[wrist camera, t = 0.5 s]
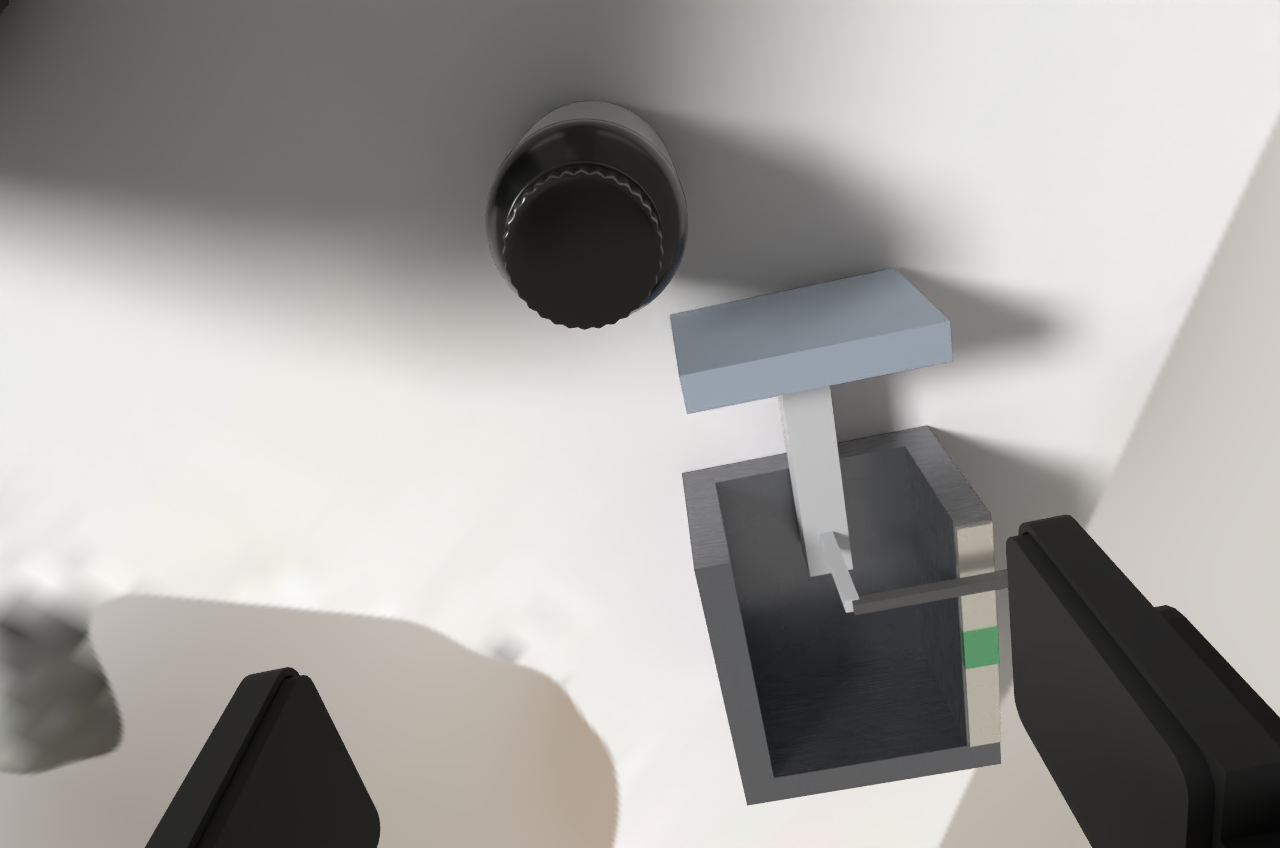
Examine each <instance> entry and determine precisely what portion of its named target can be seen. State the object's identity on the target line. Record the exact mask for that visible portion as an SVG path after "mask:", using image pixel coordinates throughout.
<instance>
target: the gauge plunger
mask: <svg viewBox="0 0 1280 848" xmlns="http://www.w3.org/2000/svg"><path fill="white" fill-rule="evenodd" d="M670 319H671V326H672V332H673V339H674V345H675V352H676V359H677V365H678V372H679V378H680V382H681V387H682V392H683V397H684V402H685V406H686V411H687V414H690V413H695V412H700V411H705V410H710V409H715V408H720V407H725V406H730V405H735V404H740V403H745V402H751V401H756V400H761V399H766V398H771V397H776V396H778V400H779V406H780V413H781V419H782V425H783V432H784V438H785V444H786V451H787V457H788V464H789V470H790V476H791V483H792V489H793V496H794V502H795V508H796V515H797V521H798V528H799V534H800V540H801V547H802V553H803V556H804V559H805V562H806V565H807V568H808V571H809V574H810V577H812V576H818V575H823V574H829V573H832V576H833V579H834V581H835V584H836V587H837V589H838V592H839V595H840V598H841V600H842V603H843V606H844V608H845V611H846V613H848V612H853V611H854V614H855V615H859V614H865V613H870V612H876V611H881V610H887V609H892V608H898V607H904V606H909V605H915V604H920V603H926V602H931V601H937V600H943V599H948V598H954V597H959V596H965V595H971V594H976V593H982V592H987V591H993V590H998V589H1004V588H1008V573H1007V570H1001V571H996V572H990V573H985V574H979V575H974V576H968V577H963V578H957V579H952V580H946V581H941V582H935V583H930V584H924V585H918V586H913V587H907V588H902V589H896V590H891V591H885V592H880V593H874V594H869V595H863V596H858V594H857V591H856V589H855V586H854V584H853V581H852V579H851V576H850V574H849V571H848V570H851V569H853V565H852V557H851V549H850V541H849V533H848V525H847V518H846V510H845V502H844V494H843V486H842V478H841V470H840V462H839V454H838V447H837V439H836V431H835V423H834V415H833V407H832V399H831V391H830V386H831V385H836V384H841V383H846V382H851V381H856V380H861V379H866V378H871V377H876V376H881V375H886V374H891V373H896V372H901V371H906V370H911V369H916V368H921V367H926V366H931V365H936V364H941V363H946V362H951V361H952V344H951V327H950V320H949V319H948V318H947V317H945V316H944V315H943V314H942V313H941V312H940V311H939V310H938V309H937V308H936V307H935V306H934V305H933V304H932V303H931V302H930V301H929V300H928V299H927V298H926V297H925V296H924V295H923V294H922V293H921V292H920V291H919V290H918V289H917V288H916V287H915V286H914V285H913V284H912V283H911V282H909V281H908V280H907V279H906V278H905V277H904V276H903V275H902V274H901V273H900V272H899V271H898V270H897V269H896V268H892V269H887V270H882V271H878V272H873V273H868V274H863V275H858V276H854V277H849V278H844V279H839V280H834V281H830V282H825V283H820V284H815V285H810V286H806V287H801V288H796V289H791V290H786V291H782V292H777V293H772V294H767V295H762V296H758V297H753V298H748V299H743V300H739V301H734V302H729V303H724V304H719V305H715V306H710V307H705V308H700V309H695V310H691V311H686V312H681V313H676V314H671V315H670Z"/></svg>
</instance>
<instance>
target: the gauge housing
mask: <svg viewBox="0 0 1280 848" xmlns="http://www.w3.org/2000/svg"><path fill="white" fill-rule="evenodd" d="M837 447H838V454H839V462H840V470H841V478H842V486H843V494H844V502H845V510H846V518H847V525H848V533H849V541H850V549H851V557H852V565H853V569H851V570H848V571H849V574H850V576H851V579H852V581H853V584H854V586H855V589H856V591H857V594H858V596H863V595H869V594H874V593H880V592H885V591H891V590H896V589H902V588H907V587H913V586H918V585H924V584H930V583H935V582H941V581H946V580H952V579H957V578H963V577H968V576H974V575H979V574H985V573H990V572H995V568H994V542H993V523H992V522H991V513H990V512H989V511H988V509H987V508H986V507H985V505H984V504H983V502H982V501H981V500H980V498H979V497H978V495H977V494H976V493H975V491H974V490H973V489H972V487H971V486H970V484H969V483H968V482H967V480H966V479H965V477H964V476H963V475H962V473H961V472H960V470H959V469H958V468H957V466H956V465H955V464H954V462H953V461H952V459H951V458H950V457H949V455H948V454H947V452H946V451H945V450H944V448H943V447H942V445H941V444H940V443H939V441H938V440H937V439H936V437H935V436H934V434H933V433H932V432H931V430H930V429H929V427H928V426H923V427H918V428H913V429H907V430H902V431H897V432H892V433H887V434H882V435H877V436H871V437H866V438H861V439H856V440H851V441H846V442H841V443H837ZM682 477H683V485H684V493H685V501H686V508H687V516H688V524H689V532H690V540H691V548H692V556H693V563H694V570H695V575H696V579H697V584H698V588H699V593H700V597H701V602H702V606H703V610H704V615H705V619H706V624H707V628H708V633H709V637H710V642H711V646H712V650H713V655H714V659H715V664H716V668H717V673H718V677H719V682H720V686H721V690H722V695H723V699H724V704H725V708H726V713H727V717H728V722H729V726H730V730H731V735H732V739H733V744H734V748H735V753H736V757H737V762H738V766H739V770H740V775H741V779H742V784H743V788H744V793H745V797H746V802H747V805H752V804H759V803H765V802H771V801H777V800H783V799H789V798H795V797H801V796H807V795H813V794H819V793H825V792H832V791H838V790H844V789H850V788H856V787H862V786H868V785H874V784H880V783H886V782H892V781H899V780H905V779H911V778H917V777H923V776H929V775H935V774H941V773H947V772H953V771H959V770H965V769H972V768H978V767H983V766H989V765H996V764H1001V753H1000V742H1001V721H1000V695H999V670H998V664H999V645H998V627H997V619H996V593H995V590H993V591H987V592H982V593H976V594H971V595H965V596H959V597H954V598H948V599H943V600H937V601H931V602H926V603H920V604H915V605H909V606H904V607H898V608H892V609H887V610H881V611H876V612H870V613H865V614H859V615H855V614H854V611H853V612H848V613H846V611H845V608H844V606H843V603H842V600H841V598H840V595H839V592H838V589H837V587H836V584H835V581H834V579H833V576H832V573H829V574H823V575H818V576H812V577H810V574H809V571H808V568H807V565H806V562H805V559H804V556H803V553H802V547H801V540H800V534H799V528H798V521H797V515H796V508H795V502H794V496H793V489H792V483H791V476H790V470H789V464H788V457H787V453H784V454H779V455H774V456H769V457H763V458H758V459H753V460H748V461H743V462H738V463H733V464H727V465H722V466H717V467H712V468H707V469H702V470H697V471H691V472H686V473H682Z"/></svg>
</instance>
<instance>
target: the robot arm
mask: <svg viewBox="0 0 1280 848" xmlns="http://www.w3.org/2000/svg"><path fill="white" fill-rule="evenodd" d="M1006 555H1007V573H1008V591H1009V609H1010V627H1011V645H1012V663H1013V681H1014V696H1015V703H1016V707H1017V710H1018V714H1019V716H1020V719H1021V721H1022V723H1023V726H1024V728H1025V729H1026V731H1027V733H1028V735H1029V737H1030V738H1031V740H1032V742H1033V744H1034V745H1035V747H1036V749H1037V751H1038V752H1039V754H1040V756H1041V758H1042V760H1043V761H1044V763H1045V765H1046V767H1047V768H1048V770H1049V772H1050V774H1051V775H1052V777H1053V779H1054V781H1055V782H1056V784H1057V786H1058V788H1059V790H1060V791H1061V793H1062V795H1063V797H1064V798H1065V800H1066V802H1067V804H1068V805H1069V807H1070V809H1071V811H1072V813H1073V814H1074V816H1075V818H1076V819H1077V821H1078V823H1079V825H1080V827H1081V828H1082V830H1083V832H1084V834H1085V836H1086V837H1087V839H1088V841H1089V843H1090V844H1091V846H1092V848H1280V717H1279V716H1278V715H1277V714H1276V713H1275V712H1274V711H1273V710H1272V709H1271V708H1270V707H1269V706H1268V705H1267V704H1266V703H1265V702H1264V700H1263V699H1262V698H1261V697H1260V696H1259V695H1258V694H1257V693H1256V692H1255V691H1254V690H1253V689H1252V688H1251V687H1250V685H1249V684H1248V683H1247V682H1246V681H1245V680H1244V679H1243V678H1242V677H1241V676H1240V675H1239V674H1238V673H1237V672H1236V671H1235V670H1234V668H1233V667H1232V666H1231V665H1230V664H1229V663H1228V662H1227V661H1226V660H1225V659H1224V658H1223V657H1222V656H1221V655H1220V654H1219V653H1218V651H1217V650H1216V649H1215V648H1214V647H1213V646H1212V645H1211V644H1210V643H1209V642H1208V641H1207V640H1206V639H1205V638H1204V637H1203V635H1202V634H1200V632H1199V631H1198V630H1197V629H1196V628H1195V627H1194V626H1193V625H1192V624H1191V623H1190V622H1189V621H1188V620H1187V618H1186V617H1185V616H1183V615H1182V614H1181V613H1180V612H1179V611H1177V610H1176V609H1175V608H1173V607H1170V606H1167V605H1164V606H1159V607H1153V606H1152V604H1151V603H1150V602H1149V601H1148V600H1147V599H1146V598H1145V597H1144V596H1143V595H1142V594H1141V592H1140V591H1139V590H1138V589H1137V588H1136V587H1135V586H1134V585H1133V583H1132V582H1131V581H1130V580H1129V579H1128V578H1127V577H1126V576H1125V575H1124V574H1123V572H1122V571H1121V570H1120V569H1119V568H1118V567H1117V566H1116V565H1115V563H1114V562H1113V561H1112V560H1111V559H1110V558H1109V557H1108V556H1107V555H1106V554H1105V552H1104V551H1103V550H1102V549H1101V548H1100V547H1099V546H1098V545H1097V544H1096V542H1095V541H1094V540H1093V539H1092V538H1091V537H1090V536H1089V535H1088V534H1087V532H1086V531H1085V530H1084V529H1083V528H1082V527H1081V526H1080V525H1079V524H1078V522H1077V521H1076V520H1075V519H1074V518H1072V517H1071V516H1070V515H1061V516H1056V517H1051V518H1046V519H1041V520H1036V521H1031V522H1026V523H1022V524H1021V525H1020V528H1019V536H1014V537H1009V538H1008V539H1007V542H1006ZM379 837H380V821H379V816H378V812H377V810H376V808H375V806H374V804H373V802H372V800H371V798H370V796H369V794H368V792H367V790H366V788H365V786H364V784H363V782H362V780H361V778H360V776H359V774H358V772H357V770H356V768H355V766H354V764H353V761H352V759H351V757H350V755H349V754H348V751H347V749H346V747H345V745H344V743H343V741H342V739H341V737H340V735H339V734H338V731H337V730H336V727H335V725H334V723H333V721H332V719H331V717H330V716H329V713H328V712H327V709H326V707H325V705H324V703H323V701H322V699H321V697H320V695H319V693H318V691H317V689H316V687H315V685H314V683H313V682H312V680H311V679H310V678H309V677H308V676H305V675H302V676H300V675H299V674H298V672H297V671H296V670H294V669H293V668H289V667H286V668H281V669H276V670H271V671H266V672H261V673H256V674H251V675H248V676H247V677H245V678H244V679H243V680H242V682H241V683H240V685H239V687H238V688H237V690H236V692H235V693H234V695H233V697H232V698H231V700H230V702H229V704H228V706H227V707H226V709H225V711H224V712H223V714H222V716H221V717H220V719H219V721H218V723H217V724H216V726H215V728H214V729H213V732H212V733H211V735H210V736H209V738H208V740H207V742H206V743H205V745H204V747H203V748H202V750H201V752H200V754H199V755H198V757H197V759H196V761H195V762H194V764H193V766H192V767H191V769H190V771H189V772H188V774H187V776H186V778H185V780H184V781H183V783H182V785H181V786H180V788H179V790H178V791H177V793H176V795H175V797H174V798H173V800H172V802H171V804H170V805H169V807H168V809H167V810H166V812H165V814H164V816H163V817H162V819H161V821H160V823H159V824H158V826H157V828H156V829H155V831H154V833H153V835H152V836H151V838H150V840H149V842H148V843H147V845H146V847H145V848H377V845H378V842H379Z"/></svg>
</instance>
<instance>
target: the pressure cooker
mask: <svg viewBox="0 0 1280 848" xmlns="http://www.w3.org/2000/svg"><path fill="white" fill-rule="evenodd" d="M9 2H10V1H9V0H0V16H1V14H2V11H3V10H4V9H5V8H6V7H7V6H8V4H9Z"/></svg>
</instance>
